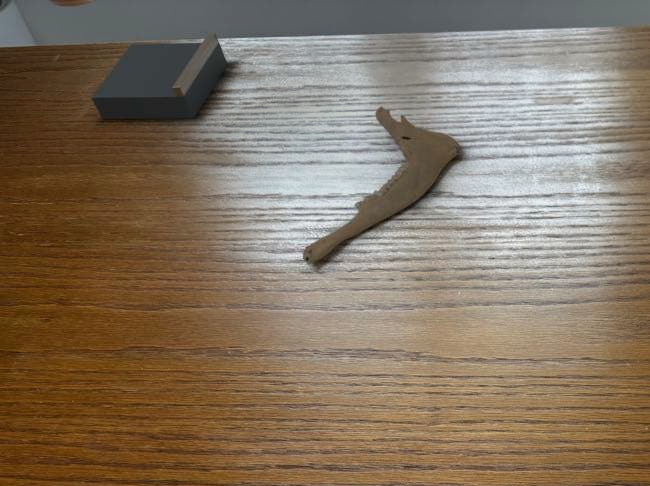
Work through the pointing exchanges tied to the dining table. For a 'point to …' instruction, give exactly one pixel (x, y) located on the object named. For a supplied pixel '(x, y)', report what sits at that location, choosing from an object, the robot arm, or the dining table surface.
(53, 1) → the beverage can
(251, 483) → the dining table surface
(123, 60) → the grey ledged base
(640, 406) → the dining table surface
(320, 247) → the jawbone
